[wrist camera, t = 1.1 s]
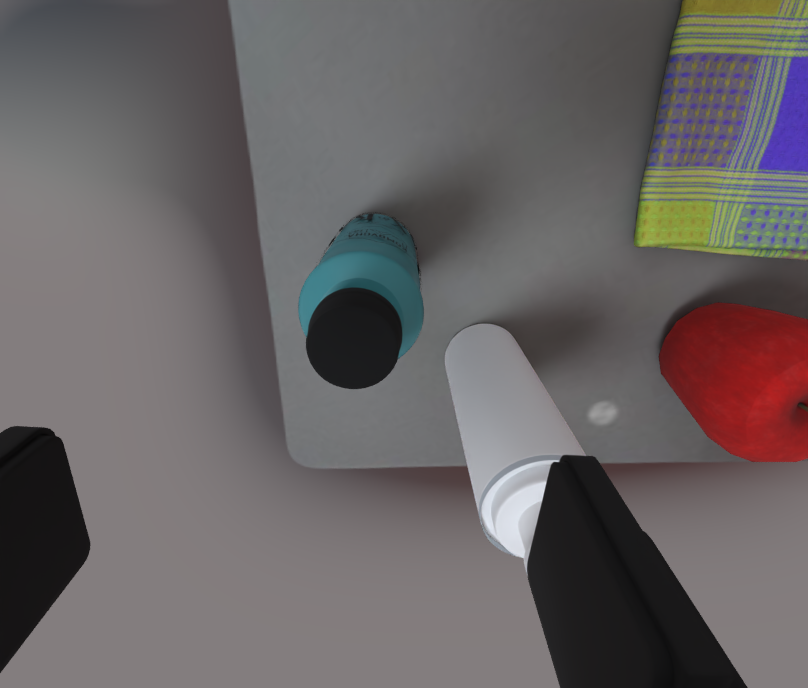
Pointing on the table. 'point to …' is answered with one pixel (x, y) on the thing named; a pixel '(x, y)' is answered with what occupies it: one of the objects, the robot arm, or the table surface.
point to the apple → (743, 378)
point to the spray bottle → (505, 432)
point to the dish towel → (731, 133)
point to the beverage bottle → (362, 303)
